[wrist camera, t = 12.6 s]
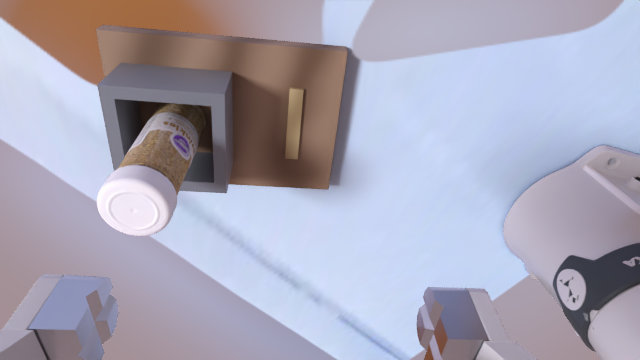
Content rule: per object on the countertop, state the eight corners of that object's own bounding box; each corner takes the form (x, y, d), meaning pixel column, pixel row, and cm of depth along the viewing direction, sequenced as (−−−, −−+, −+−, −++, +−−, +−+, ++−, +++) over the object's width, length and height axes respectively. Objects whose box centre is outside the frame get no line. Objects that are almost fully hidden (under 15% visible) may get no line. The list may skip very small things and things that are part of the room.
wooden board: (345, 46, 36) (348, 53, 35) (327, 181, 44) (328, 191, 42) (102, 24, 34) (94, 30, 33) (128, 170, 42) (121, 180, 40)
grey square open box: (232, 71, 35) (224, 94, 31) (233, 162, 40) (226, 193, 36) (120, 62, 34) (97, 85, 30) (135, 157, 39) (117, 187, 35)
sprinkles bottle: (217, 117, 38) (185, 210, 26) (186, 150, 39) (144, 249, 28) (173, 83, 36) (119, 167, 24) (143, 119, 37) (80, 213, 26)
